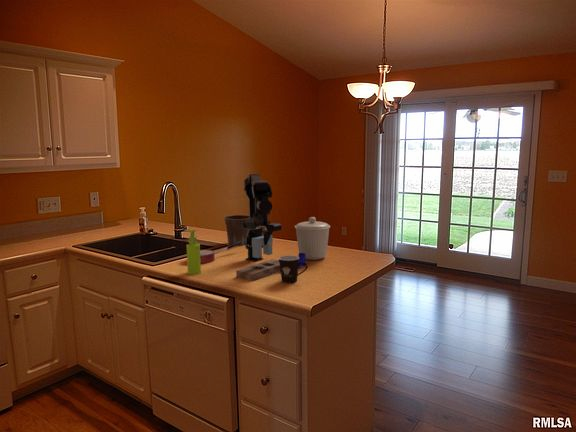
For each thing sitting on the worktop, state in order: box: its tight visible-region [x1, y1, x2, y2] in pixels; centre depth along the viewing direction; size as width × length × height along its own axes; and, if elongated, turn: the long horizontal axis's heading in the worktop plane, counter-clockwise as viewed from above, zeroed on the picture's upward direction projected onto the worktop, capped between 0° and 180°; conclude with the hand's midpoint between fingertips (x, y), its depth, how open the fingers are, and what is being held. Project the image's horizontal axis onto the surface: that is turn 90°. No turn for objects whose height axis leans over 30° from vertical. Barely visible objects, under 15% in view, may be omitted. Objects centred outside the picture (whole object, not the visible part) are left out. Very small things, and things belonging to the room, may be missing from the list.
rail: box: [235, 258, 281, 282], centre depth 197 cm, size 10×24×3 cm, turn 141°
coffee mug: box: [278, 255, 308, 284], centre depth 182 cm, size 12×9×10 cm
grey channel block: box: [252, 234, 274, 258], centre depth 195 cm, size 3×10×8 cm, turn 140°
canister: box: [294, 216, 331, 261], centre depth 221 cm, size 18×18×21 cm
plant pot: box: [223, 214, 249, 247], centre depth 258 cm, size 16×16×16 cm
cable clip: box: [297, 252, 307, 270], centre depth 204 cm, size 12×4×6 cm, turn 142°
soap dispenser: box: [182, 228, 202, 275], centre depth 197 cm, size 6×7×20 cm
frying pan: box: [200, 241, 242, 265], centre depth 227 cm, size 32×13×6 cm, turn 140°
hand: (262, 244), depth 195 cm, fingers closed on grey channel block, 3 cm apart
